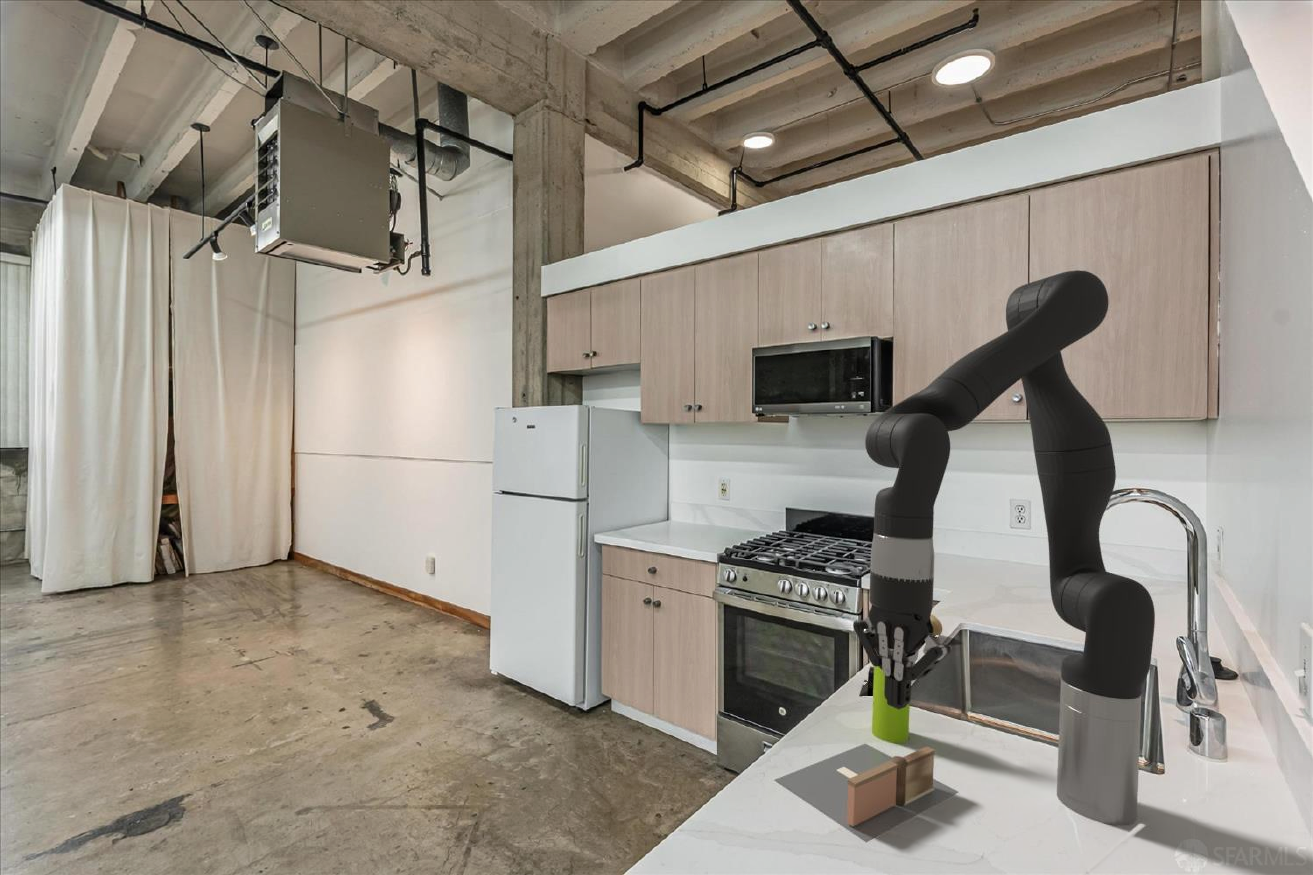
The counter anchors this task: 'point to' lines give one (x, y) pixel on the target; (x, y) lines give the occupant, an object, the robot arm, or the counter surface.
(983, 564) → the counter surface
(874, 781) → the hinged fence section
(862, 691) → the black block
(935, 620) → the onion
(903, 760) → the fixed fence section
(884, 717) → the soap dispenser
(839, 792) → the card
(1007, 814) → the counter surface
